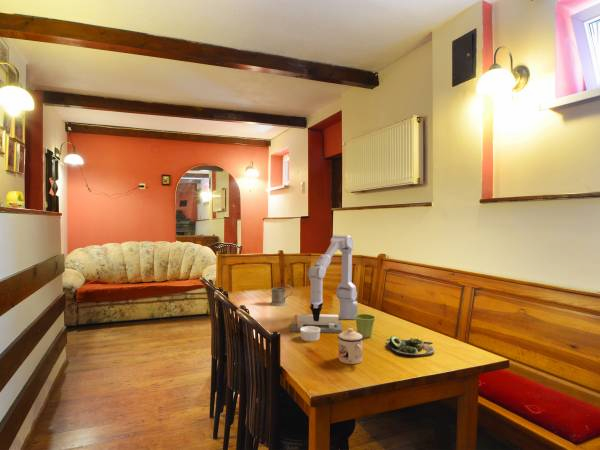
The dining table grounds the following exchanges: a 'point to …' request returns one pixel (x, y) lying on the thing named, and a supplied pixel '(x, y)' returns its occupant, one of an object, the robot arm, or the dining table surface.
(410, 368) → the dining table surface
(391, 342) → the salad plate
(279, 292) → the mug
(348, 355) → the teacup with lid
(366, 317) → the plant pot
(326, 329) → the collar stand
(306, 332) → the ramekin
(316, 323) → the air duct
